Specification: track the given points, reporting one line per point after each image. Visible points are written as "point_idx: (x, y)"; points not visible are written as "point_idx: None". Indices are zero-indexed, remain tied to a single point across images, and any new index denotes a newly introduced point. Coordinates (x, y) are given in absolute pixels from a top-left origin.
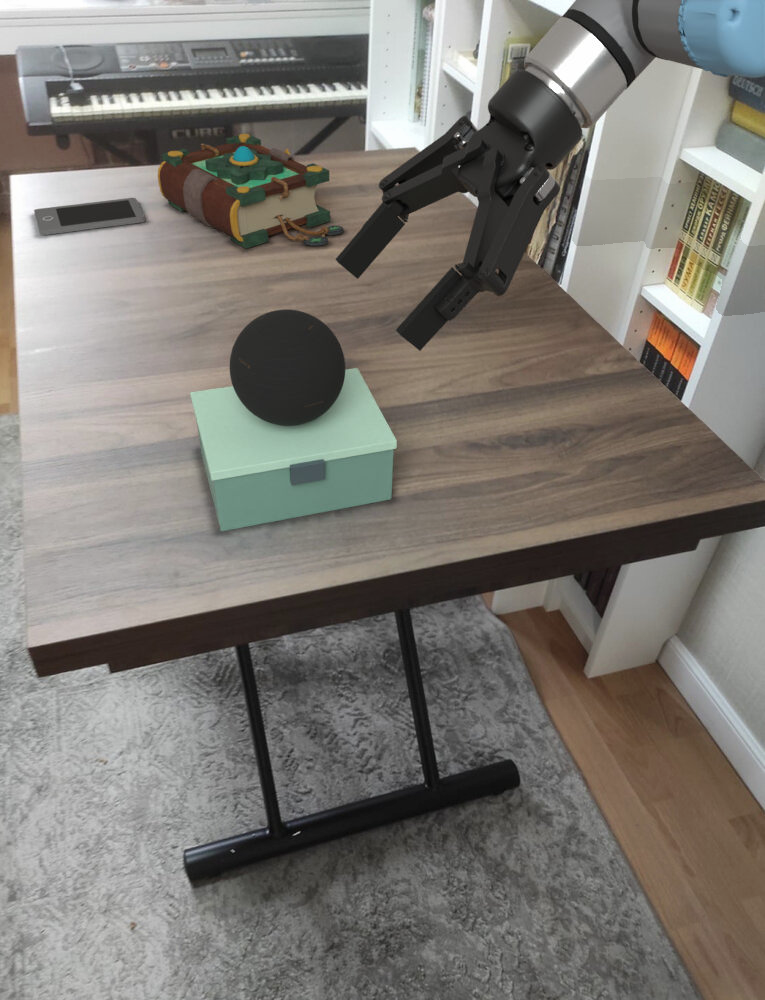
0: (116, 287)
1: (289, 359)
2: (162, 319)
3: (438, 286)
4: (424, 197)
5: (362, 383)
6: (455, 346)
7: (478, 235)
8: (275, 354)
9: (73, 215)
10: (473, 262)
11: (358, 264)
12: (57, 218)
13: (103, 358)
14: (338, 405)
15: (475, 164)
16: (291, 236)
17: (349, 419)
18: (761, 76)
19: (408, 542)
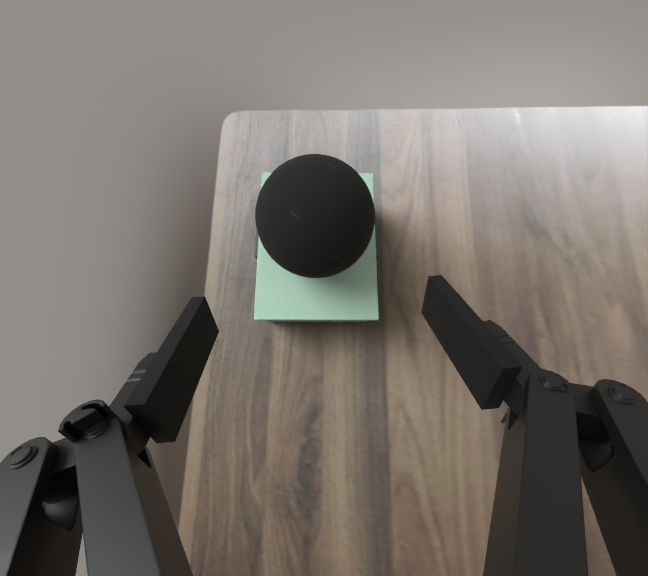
0: (621, 172)
1: (263, 192)
2: (559, 202)
3: (158, 364)
4: (504, 478)
5: (350, 316)
6: (477, 463)
7: (97, 518)
8: (271, 177)
9: None
10: (77, 450)
11: (431, 311)
12: None
13: (499, 156)
14: (320, 284)
15: None
16: None
17: (297, 288)
18: None
19: (224, 319)
